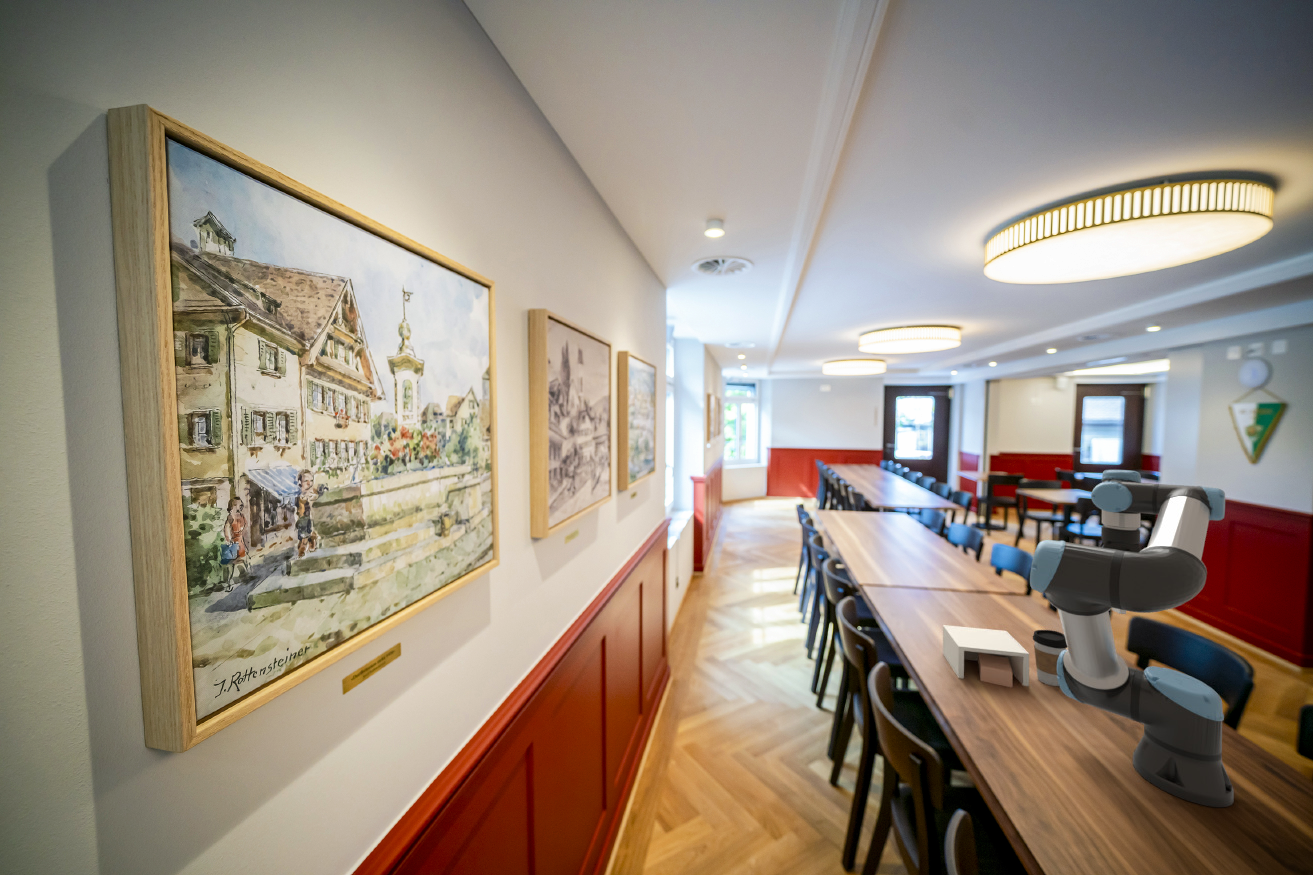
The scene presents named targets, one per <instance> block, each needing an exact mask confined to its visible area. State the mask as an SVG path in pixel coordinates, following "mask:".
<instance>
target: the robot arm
mask: <svg viewBox="0 0 1313 875" xmlns="http://www.w3.org/2000/svg"><path fill="white" fill-rule="evenodd" d="M1101 477H1102V478H1101V482H1100V483H1098V484H1097V485H1096V486H1095V487H1093V489H1092V491H1091V494H1090V498H1091V501H1092V503H1093V505H1095V506H1096V508H1098V509H1100V510H1101V524H1102V526H1100V527H1101V528H1100V529H1101V530H1100V531H1101V532H1100V533H1101V534H1100V535H1101V537H1100V538H1101V543H1100V545H1099V546H1094V545H1087V544H1080V543H1074V542H1073V543H1072V542H1068V541H1067V542H1066V541H1065V540H1054V539H1053V540H1052V539H1044V540H1041V541H1039V543H1038V544H1037V546H1036V548H1035V551H1034V554H1033V556H1032V557H1033V558H1032V561H1031V567H1030V574H1029V575H1030V576H1029V585H1030V587H1031V588H1030V589H1032V590H1034V591H1036V592H1037V593H1041V594H1042V593H1044V595H1045V598H1046V599H1047V601H1048V602H1049V603H1050V604H1051V605H1052V606H1053V607H1055V608H1056V609H1057V612H1058V616H1059V620H1060V622H1061V627H1062V632H1063V634H1064V636H1065V640H1066V644H1067V648H1066V650H1063V651H1062V652H1061V653H1060V655H1059V657H1058V661H1057V674H1058V677H1057V679H1058V683H1059V686H1058V687H1059V688H1060V690H1061V692H1062V694H1064V695H1065V696H1066V697H1068V698H1070V699H1073V700H1075V701H1076V702H1079V703H1081V704H1085V705H1087V706H1091V707H1093V708H1097V709H1099V710H1101V711H1105V712H1108V713H1112V714H1113V715H1117V716H1120V717H1122V718H1125V719H1129V720H1131V721H1134V722H1137V723H1139V724H1142V725H1143V730H1144V731H1143V735H1142V737H1141V739H1140V740H1139V742H1138V744H1137V746H1136V748H1135V749H1134V750H1133V754H1132V765H1133V768H1134V769H1135V771H1136V772H1137V773H1138V774H1139V775H1140V776H1141V777H1142V778H1143V779H1145V780H1146V781H1148V782H1149V783H1150V784H1152V785H1153V786H1155V787H1157V788H1158V789H1160V790H1163V791H1164V792H1166V793H1168V794H1169V795H1170V794H1171V795H1173V796H1175V797H1177V798H1180V799H1182V800H1185V801H1188V802H1191V803H1195V804H1197V805H1202V806H1205V807H1210V808H1211V807H1212V808H1227V807H1229V806H1233V803H1234V801H1235V800H1234V798H1235V797H1234V796H1235V795H1234V794H1235V792H1234V787H1233V785H1232V782H1231V780H1230V777H1229V775H1228V773H1227V770H1226V767H1225V765H1224V763H1223V761H1222V760H1223V757H1222V754H1223V752H1222V750H1223V749H1222V748H1223V743H1222V742H1223V721H1224V718H1225V715H1224V713H1223V702H1222V698H1221V697H1220V694H1218V693H1217V692H1216V691H1215V689H1213V688H1212V687H1211V686H1209V685H1207V684H1206V683H1205V682H1203V681H1201V680H1199V679H1197V678H1195V677H1193V676H1190V675H1188V674H1186V673H1183V672H1181V671H1178V670H1174V669H1171V668H1168V667H1159V666H1156V665H1155V666H1154V665H1153V666H1148V667H1146V668H1145V669H1144V670H1141V669H1137V668H1134V667H1131V666H1128V665H1127V663H1126V662H1125V660H1124V659H1123V658H1122V657H1121V656H1120V655H1119V654H1118V653H1117V649H1116V645H1115V638H1114V633H1113V628H1112V623H1111V618H1110V612H1109V611H1111V610H1112V611H1113V612H1115V613H1117V614H1119V615H1127V612H1130V613H1131V612H1132V613H1142V614H1149V613H1151V614H1152V613H1158V612H1162V611H1167V610H1171V609H1174V608H1177V607H1179V606H1180V607H1181V606H1182V605H1183V604H1185V603H1187V602H1189V601H1191V600H1192V599H1194V598H1195V597H1196V596H1197V595H1198V594H1199V593H1200V592H1201V591H1202V590H1203V588H1204V587H1205V584H1206V581H1207V575H1208V571H1207V567H1206V565H1205V563H1204V562H1203V560H1202V557H1203V553H1204V547H1205V543H1206V542H1205V541H1206V539H1207V538H1206V537H1207V533H1208V532H1207V531H1208V528H1209V522H1210V521H1222V520H1223V519H1225V512H1226V493H1225V491H1224V490H1223V489H1221V488H1217V487H1209V486H1202V485H1197V486H1196V485H1179V484H1163V483H1148V482H1147V483H1146V482H1142V477H1141V473H1140V472H1138V471H1136V470H1128V469H1127V470H1126V469H1105V470H1104V471H1103V472H1102V476H1101ZM1141 514H1148V515H1149V514H1150V515H1157V516H1156V517H1157V518H1156V520H1155V523H1154V526H1153V529H1152V532H1151V534H1150V535H1151V536H1150V539H1149V541H1148V544H1147V547H1144V548H1143V549H1142V548H1141V546H1140V542H1141V530H1140V529H1139V528H1141V526H1142V525H1141V520H1142V519H1141Z"/></svg>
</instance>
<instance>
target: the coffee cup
mask: <svg viewBox="0 0 1313 875" xmlns="http://www.w3.org/2000/svg"><path fill="white" fill-rule="evenodd" d="M1032 640H1033V642H1034V645H1033V648H1034V658H1035V666H1036V677H1037V680H1038V681H1039V682H1041V683H1042V684H1045V685H1048V686H1053V687H1060V686H1059V683H1058V679H1057V677H1058V674H1057V661H1058V657H1059V655H1060V653H1061V652H1062V651H1063V650H1066V649H1068V647H1067V644H1066V640H1065V636H1064V633H1062V632H1059V631H1057V630H1052V629H1037V630H1034V632H1033V636H1032Z"/></svg>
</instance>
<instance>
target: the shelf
mask: <svg viewBox="0 0 1313 875" xmlns="http://www.w3.org/2000/svg"><path fill="white" fill-rule="evenodd" d="M978 652H981V653H986V654H991V655H996V656H1001V657H1006V658H1008V660H1009V663H1010V666H1011V669H1012V672H1013V674H1012V675H1014V677H1015V678H1016V679H1017V681H1019V683H1020V684H1021V685H1022V686H1024V687H1029V686H1030V653H1029V652H1028V651H1027V650H1026V649H1025V648H1024V646H1022V645H1021V644H1020V642H1019V641H1017V639H1016V638H1014V637H1013V636H1012V635H1011V634H1010V633H1009V632H1008V631H1007V630H1001V629H990V628H989V629H988V628H980V627H979V628H978V627H968V626H967V627H966V626H957V625H947V624H946V625H945V624H942V655H943V656H944V658H945V659H946V661H947V663H948V664H949V666H950V667H951V669H952V670H953V672H954V674H955V675H956V676H957V679H965V675H964V674H965V673H964V672H965V660H968V661H977V662H978Z"/></svg>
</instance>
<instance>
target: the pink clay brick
mask: <svg viewBox="0 0 1313 875" xmlns="http://www.w3.org/2000/svg"><path fill="white" fill-rule="evenodd" d="M977 668H978V674H979V678H980V679H979V680H980V681H981V682H986V683H990V684H994V685H999V686H1004V687H1008V688H1013V675H1014V674H1013V672H1012V669H1011V666H1010V663H1009V660H1008V658H1006V657H1001V656H996V655H991V654H986V653H981V652H978V661H977Z"/></svg>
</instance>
